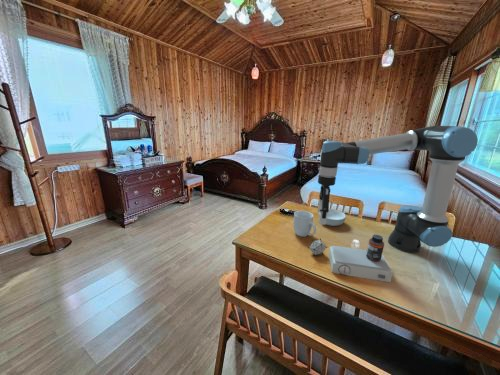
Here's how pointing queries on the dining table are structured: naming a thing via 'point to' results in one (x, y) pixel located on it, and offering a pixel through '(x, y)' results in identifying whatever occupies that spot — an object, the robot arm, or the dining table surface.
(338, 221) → the cereal bowl
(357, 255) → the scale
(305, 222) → the mug
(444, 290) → the dining table surface
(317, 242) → the game die
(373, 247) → the supplement bottle
